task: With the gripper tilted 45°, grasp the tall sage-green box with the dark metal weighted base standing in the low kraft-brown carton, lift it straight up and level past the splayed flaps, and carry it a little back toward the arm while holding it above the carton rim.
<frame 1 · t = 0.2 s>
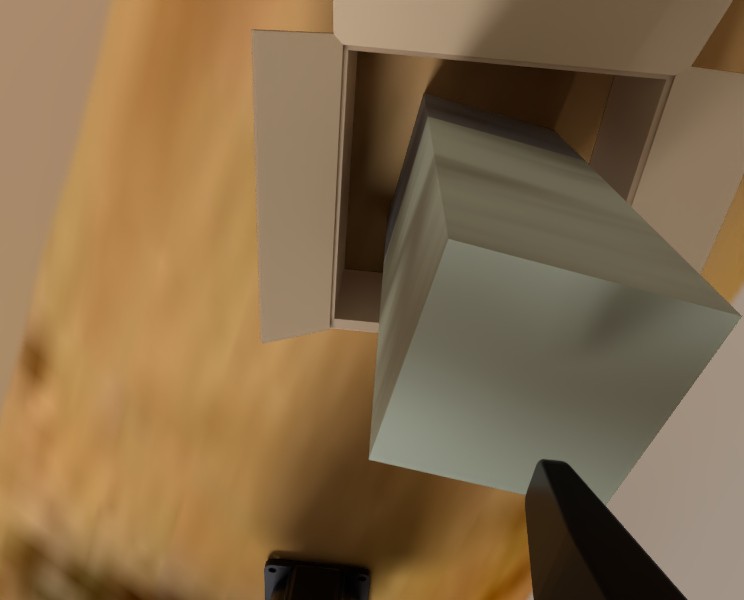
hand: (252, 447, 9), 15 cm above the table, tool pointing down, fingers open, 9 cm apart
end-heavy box: (488, 246, 16), in the carton
carton: (466, 176, 21), on the table
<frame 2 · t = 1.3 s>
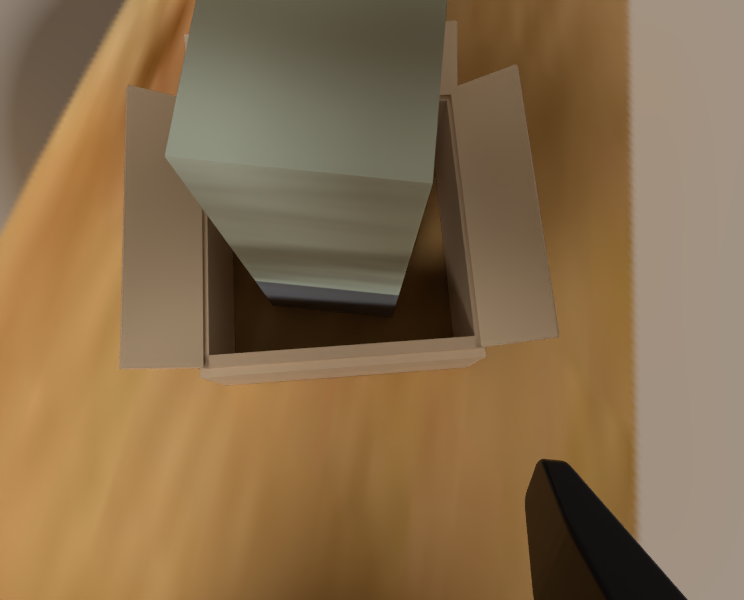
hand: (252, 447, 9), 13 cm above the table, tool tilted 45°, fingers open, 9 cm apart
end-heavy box: (331, 191, 17), in the carton
carton: (339, 254, 23), on the table
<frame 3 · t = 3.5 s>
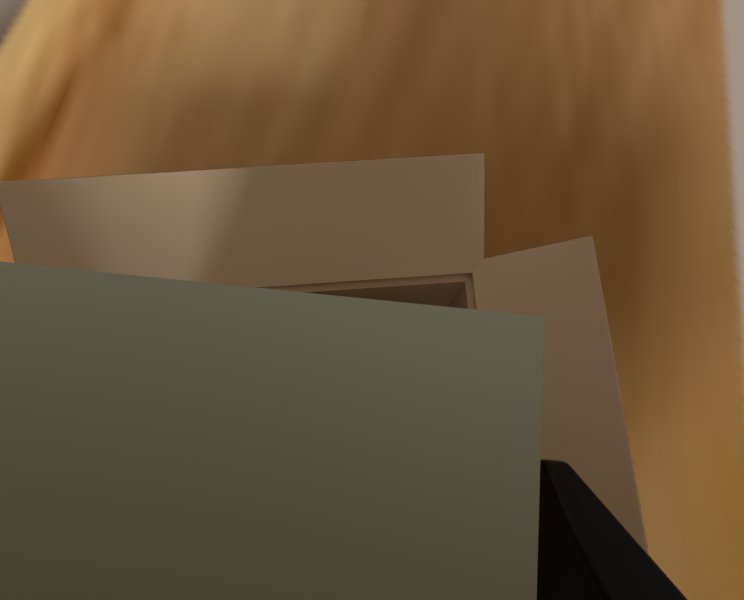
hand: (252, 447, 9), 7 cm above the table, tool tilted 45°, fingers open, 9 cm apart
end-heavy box: (240, 540, 8), in the carton
carton: (291, 491, 15), on the table
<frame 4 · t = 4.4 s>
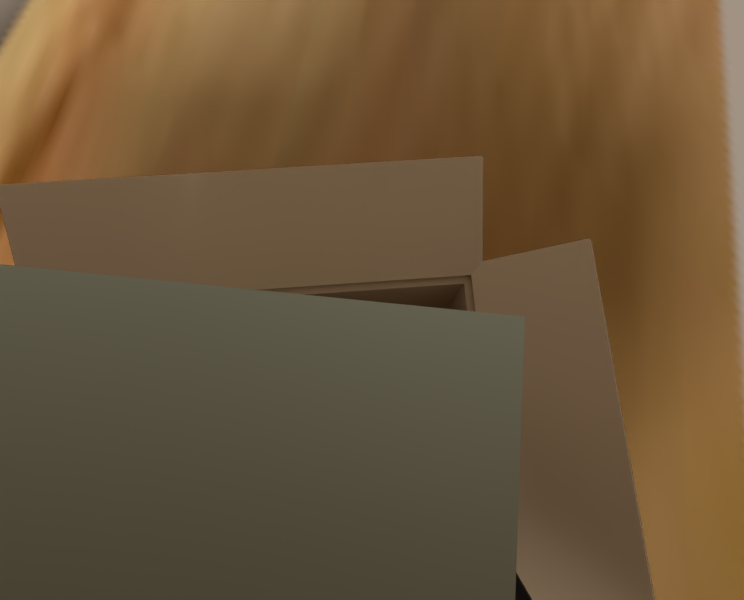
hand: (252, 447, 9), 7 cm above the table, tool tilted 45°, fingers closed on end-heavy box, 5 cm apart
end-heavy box: (236, 542, 8), in the carton, touching gripper
carton: (290, 493, 15), on the table
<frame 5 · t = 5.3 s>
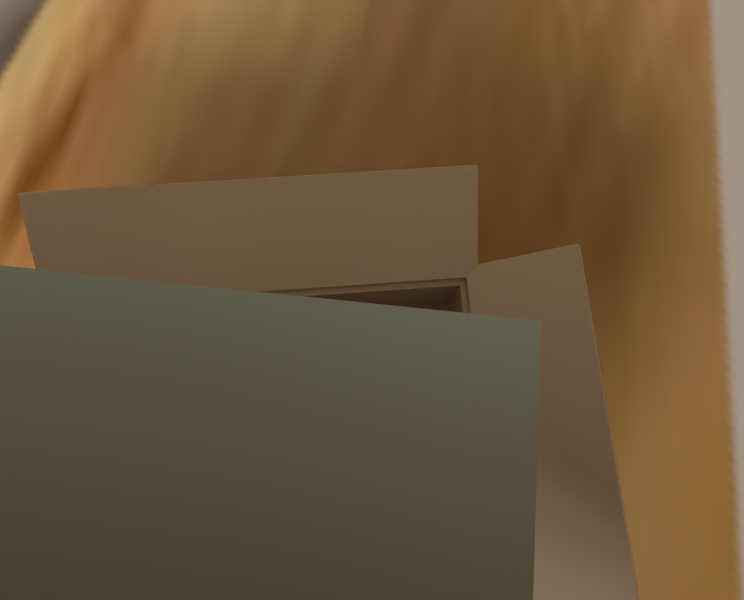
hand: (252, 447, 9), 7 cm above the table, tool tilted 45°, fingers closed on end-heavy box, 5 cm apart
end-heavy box: (242, 539, 9), in the carton, point 7 cm above the table, touching gripper
carton: (295, 484, 15), on the table
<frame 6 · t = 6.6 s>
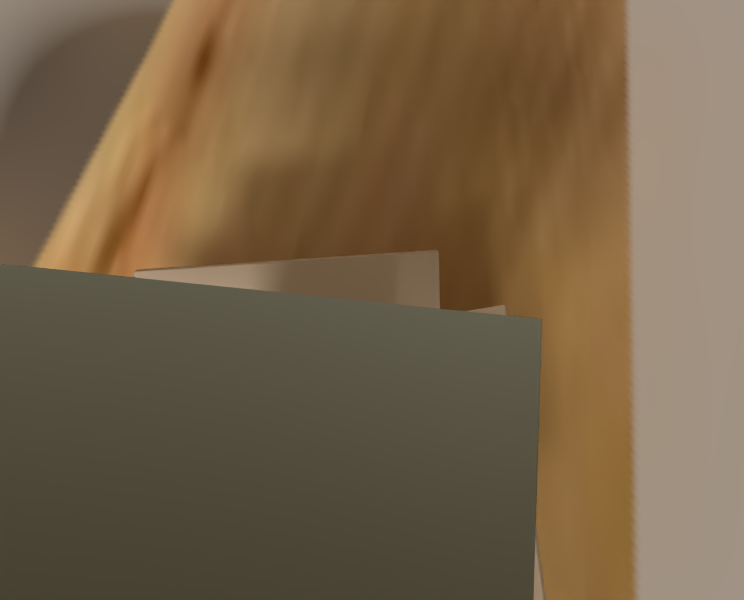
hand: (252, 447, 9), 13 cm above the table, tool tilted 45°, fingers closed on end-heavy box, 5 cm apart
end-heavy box: (242, 538, 9), point 13 cm above the table, touching gripper
carton: (313, 467, 21), on the table
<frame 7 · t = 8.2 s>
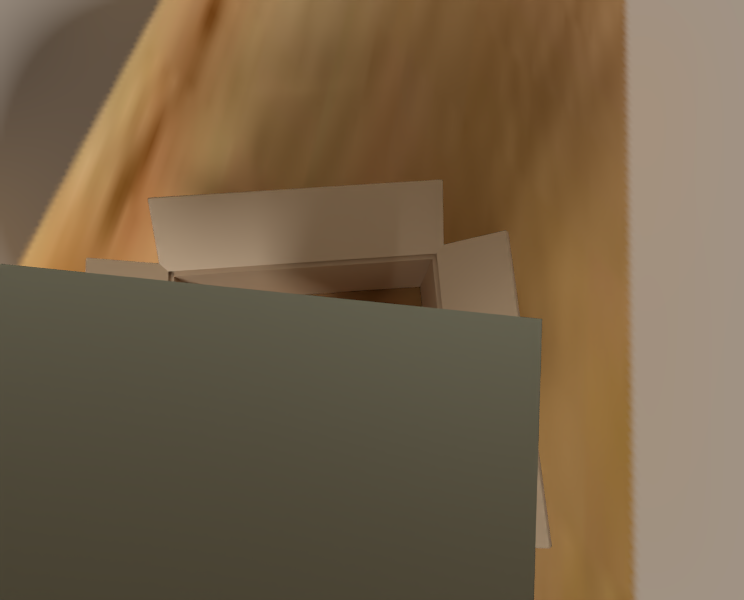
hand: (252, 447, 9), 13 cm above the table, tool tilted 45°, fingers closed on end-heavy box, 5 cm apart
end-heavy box: (242, 538, 9), point 13 cm above the table, touching gripper
carton: (319, 402, 22), on the table
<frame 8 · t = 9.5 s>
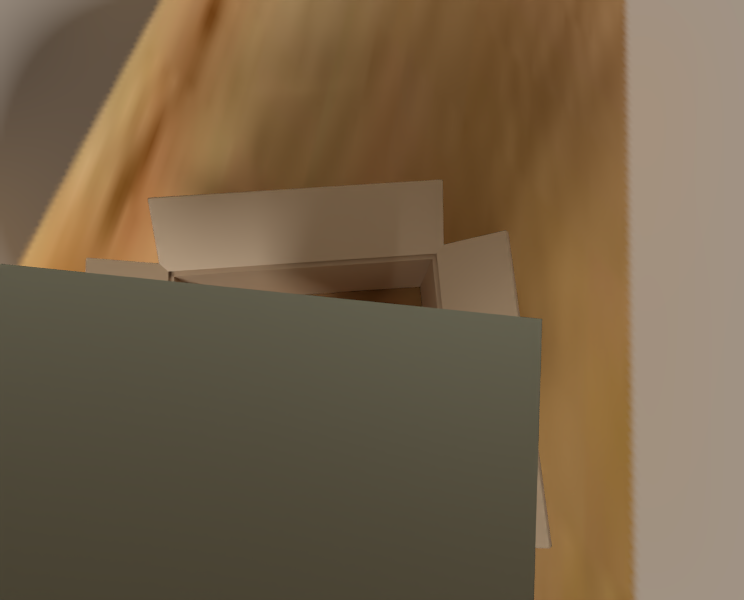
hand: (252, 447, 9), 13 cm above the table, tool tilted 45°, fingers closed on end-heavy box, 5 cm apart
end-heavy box: (242, 538, 9), point 13 cm above the table, touching gripper
carton: (319, 402, 22), on the table
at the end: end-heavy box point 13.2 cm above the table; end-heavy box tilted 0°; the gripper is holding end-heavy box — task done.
